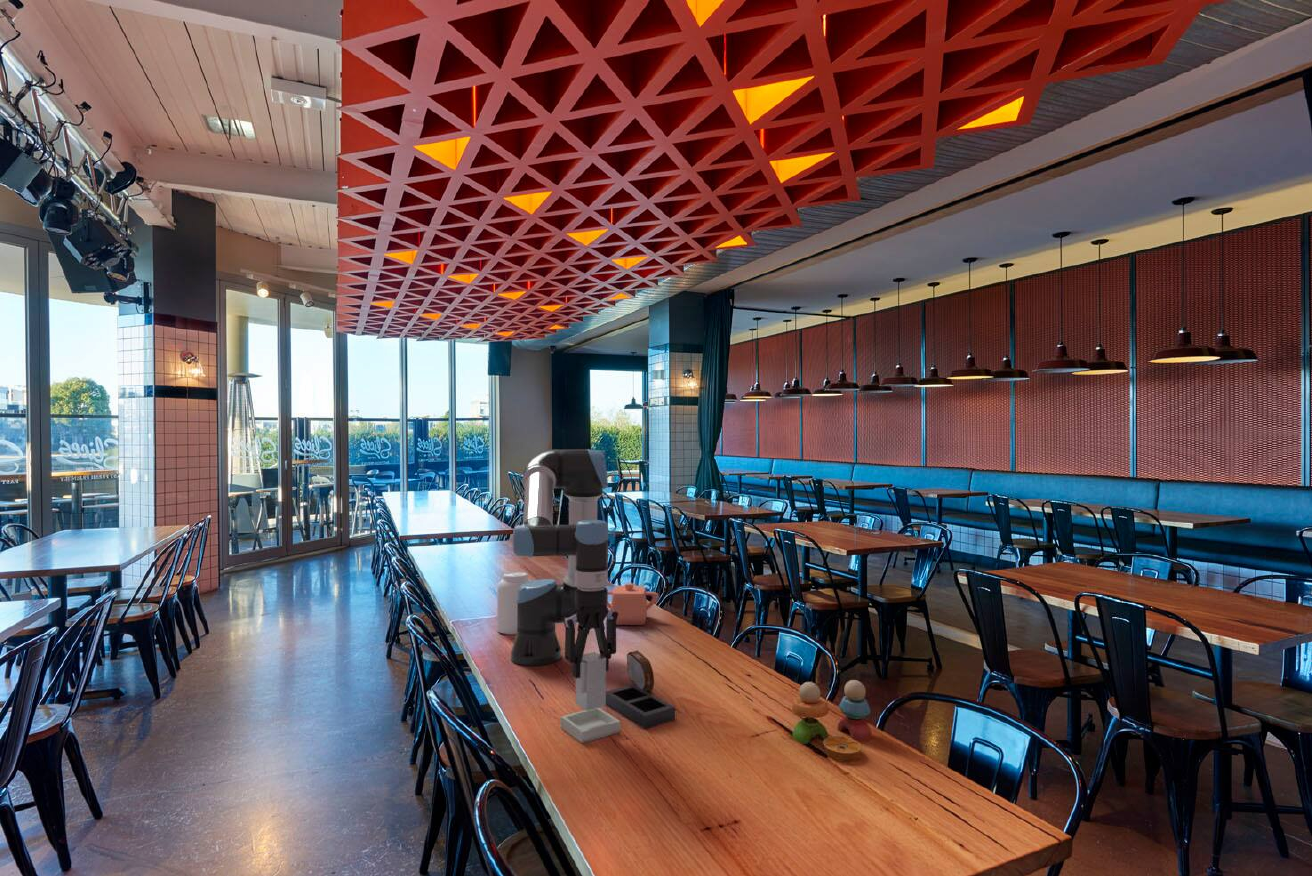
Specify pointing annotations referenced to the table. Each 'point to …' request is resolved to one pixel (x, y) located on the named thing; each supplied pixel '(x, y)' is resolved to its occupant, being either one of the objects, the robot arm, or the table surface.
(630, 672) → the tin
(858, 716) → the wooden stacking toy
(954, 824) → the table surface
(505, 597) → the white bottle
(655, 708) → the dark rectangular frame
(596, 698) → the grey rectangular block
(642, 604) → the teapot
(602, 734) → the tray
